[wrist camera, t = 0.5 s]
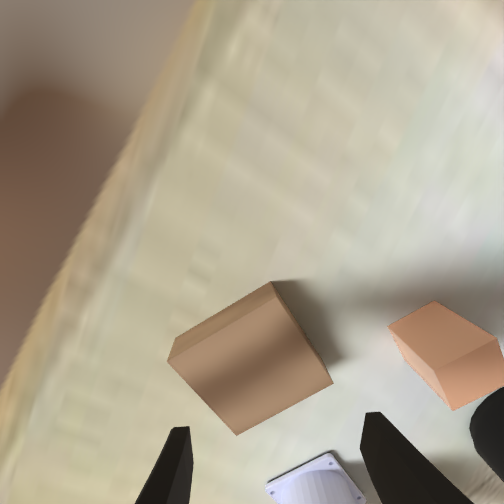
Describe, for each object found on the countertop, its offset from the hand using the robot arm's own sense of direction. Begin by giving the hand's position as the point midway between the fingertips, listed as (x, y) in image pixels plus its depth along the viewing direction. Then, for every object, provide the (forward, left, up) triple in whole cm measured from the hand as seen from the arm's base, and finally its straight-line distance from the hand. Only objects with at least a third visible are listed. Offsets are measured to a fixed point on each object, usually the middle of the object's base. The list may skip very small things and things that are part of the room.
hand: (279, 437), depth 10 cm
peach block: (-10, -11, -10) cm, 18 cm away
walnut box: (-3, +2, -10) cm, 11 cm away
